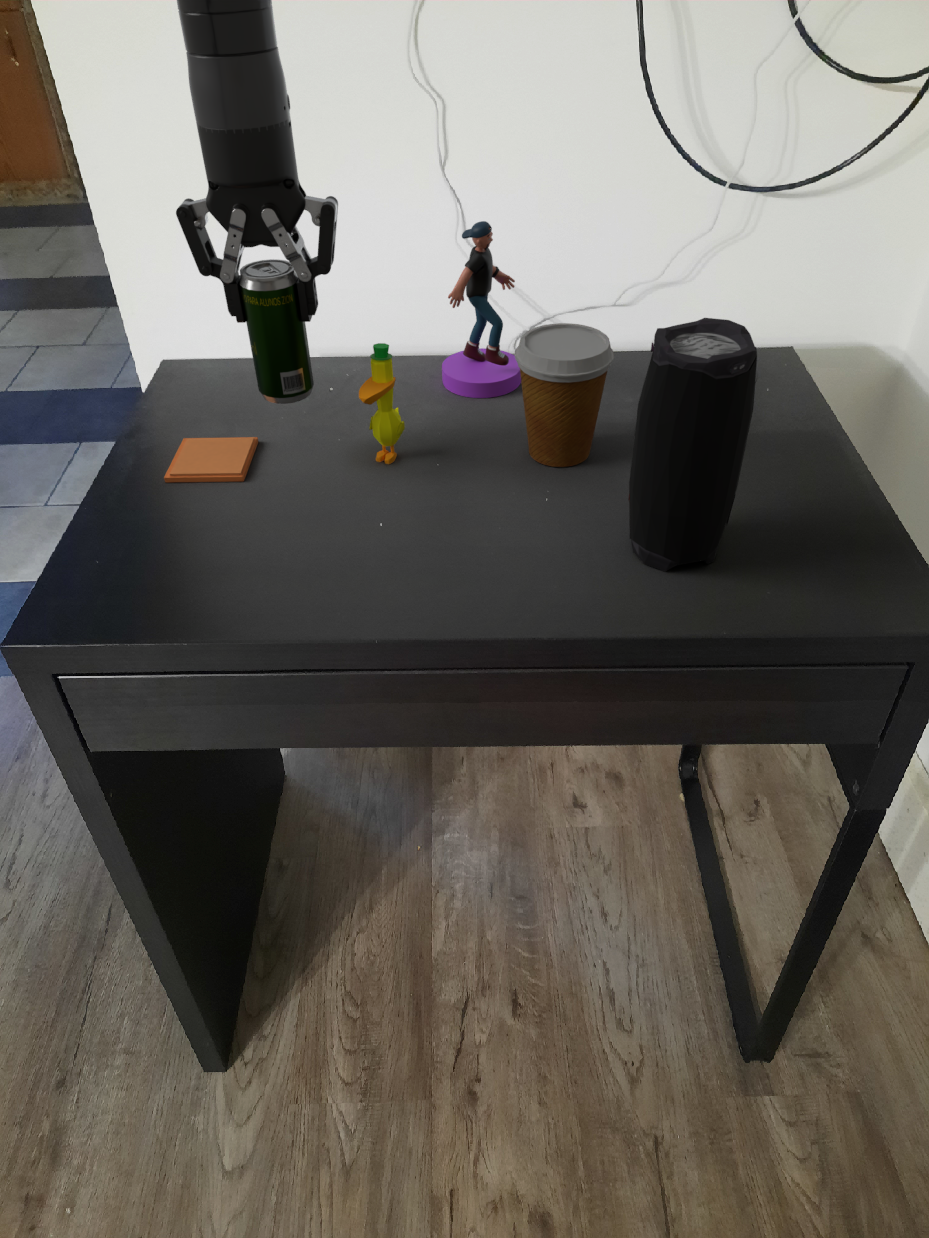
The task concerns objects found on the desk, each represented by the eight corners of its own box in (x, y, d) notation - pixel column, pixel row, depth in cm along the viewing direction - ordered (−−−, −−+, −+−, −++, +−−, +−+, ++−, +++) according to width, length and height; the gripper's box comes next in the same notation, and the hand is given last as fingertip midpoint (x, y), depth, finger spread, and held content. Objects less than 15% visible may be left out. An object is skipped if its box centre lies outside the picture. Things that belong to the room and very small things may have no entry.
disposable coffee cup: (620, 466, 91) (632, 353, 83) (532, 483, 89) (536, 369, 81) (583, 423, 98) (590, 315, 90) (500, 438, 96) (500, 329, 88)
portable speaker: (605, 556, 80) (625, 344, 67) (654, 508, 85) (682, 304, 73) (694, 591, 76) (734, 372, 63) (740, 538, 81) (785, 327, 69)
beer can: (325, 393, 88) (309, 269, 80) (277, 410, 86) (255, 284, 78) (296, 375, 91) (278, 254, 84) (249, 391, 89) (226, 268, 81)
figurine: (512, 401, 102) (515, 237, 91) (433, 394, 104) (425, 232, 93) (527, 366, 109) (531, 209, 98) (453, 360, 111) (448, 205, 99)
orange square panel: (165, 482, 91) (162, 475, 90) (184, 443, 97) (182, 435, 96) (243, 481, 91) (242, 474, 90) (258, 442, 97) (257, 434, 96)
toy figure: (385, 478, 90) (375, 366, 83) (354, 471, 92) (341, 360, 84) (415, 447, 95) (408, 337, 87) (385, 441, 96) (376, 332, 88)
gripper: (141, 127, 70) (189, 337, 81) (325, 123, 70) (348, 334, 81) (166, 106, 76) (208, 305, 87) (337, 102, 75) (356, 302, 86)
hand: (275, 318), depth 84 cm, fingers closed on beer can, 5 cm apart
